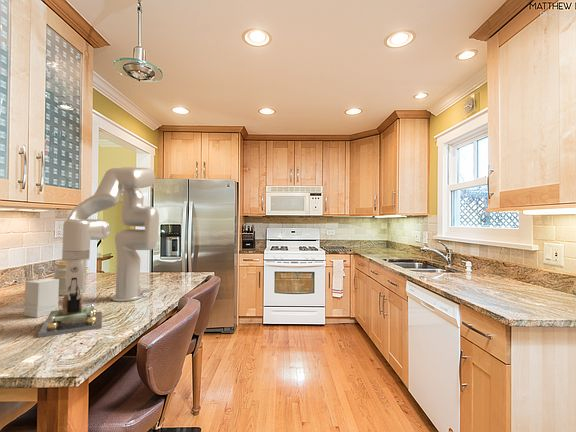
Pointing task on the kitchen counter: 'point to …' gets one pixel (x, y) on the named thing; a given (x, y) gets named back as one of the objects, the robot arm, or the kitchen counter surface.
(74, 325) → the standoff base
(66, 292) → the jar
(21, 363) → the kitchen counter surface
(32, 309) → the supplement box
